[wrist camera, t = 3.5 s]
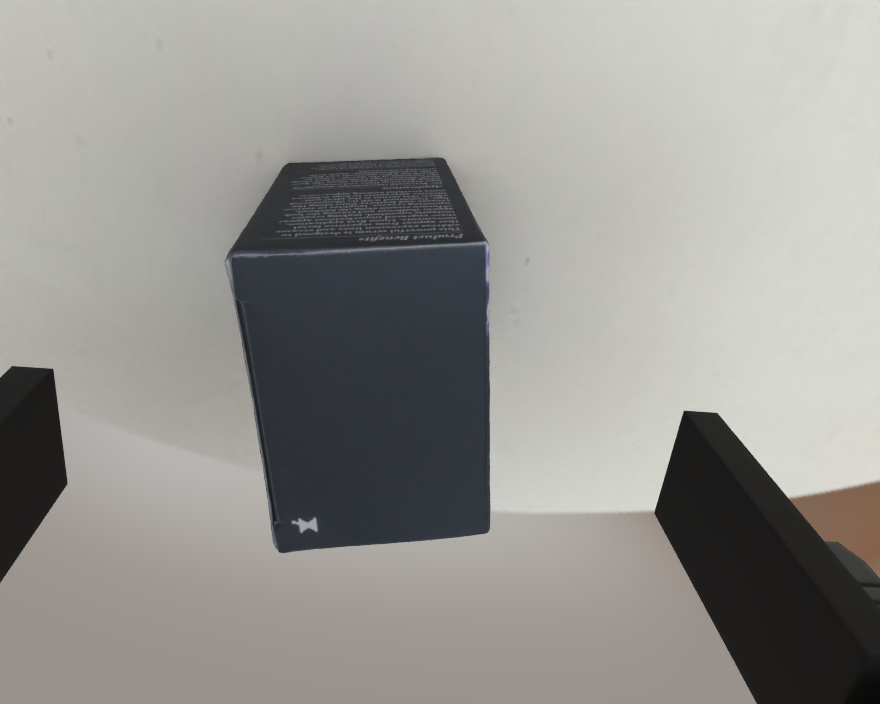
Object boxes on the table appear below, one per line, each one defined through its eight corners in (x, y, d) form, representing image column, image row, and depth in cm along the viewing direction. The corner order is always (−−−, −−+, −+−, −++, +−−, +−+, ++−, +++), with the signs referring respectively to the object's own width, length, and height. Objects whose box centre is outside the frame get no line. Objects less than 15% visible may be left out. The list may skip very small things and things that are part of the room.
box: (453, 360, 28) (493, 542, 18) (305, 368, 27) (266, 558, 18) (448, 152, 24) (495, 240, 15) (280, 158, 24) (216, 254, 15)
